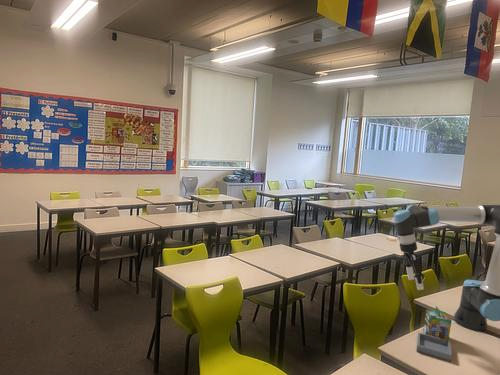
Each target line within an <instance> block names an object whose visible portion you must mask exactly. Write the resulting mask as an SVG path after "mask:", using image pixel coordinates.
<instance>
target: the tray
mask: <svg viewBox="0 0 500 375" xmlns="http://www.w3.org/2000/svg"><path fill="white" fill-rule="evenodd" d="M416 353H420V354H422V355H427V356H430V357H432V358H433V357H434V358H436V359H440V360H442V361H447V362H449V363H451V362H452V358H453V357H452V356H453V355H452V346H451V341H450V340H449V341H448V340H444V339H441V338H437V337H434V336H430V335H426V334H424V332H423V333H422V332H417V337H416Z"/></svg>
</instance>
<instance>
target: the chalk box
mask: <svg viewBox="0 0 500 375" xmlns="http://www.w3.org/2000/svg"><path fill="white" fill-rule="evenodd" d="M423 322H424V323H423V329H422V332H423V334H426V335H430V336H434V337H437V338H441V339H444V340H448V341H450V333H451V327H452V318H450V316H449V315H448V314H447V312H444V311H440V309H439V307H438V306H437V305H436V306H435V310H434V309H432V310H431V309H425V316H424V321H423Z"/></svg>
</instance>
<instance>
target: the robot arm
mask: <svg viewBox="0 0 500 375" xmlns="http://www.w3.org/2000/svg"><path fill="white" fill-rule="evenodd" d="M393 218H394V223H395V228H396V232H397V237H396V238H397V240H398V242H399V249H400V251H401V252H402V253H403V264H404V265H405V268H406V273H407V277H408V281H412V280H415V284H416V285H415V286H416V288H417V290H418V291H422V290H425V287H424V282H423V278H422V277H424V275H423V271H422V269H421V265H420V263H419V260H418V255H417V254H416V253H415V251H417V250H418V245H417V242H416V240H417V239H416V234H415V231H414V230H415V229H419V228H420V229H421V228H426V227H431V226H435V225H438V224H439V223H440V222H453V223H454V222H461V223H462V222H463V223H477V224H478V225H487V226H491V227H494V230H493V234H494V235H495V237H496V238H495V242H494V246H493V251H492V254H491V256H490V261H489V266H488V269H487V273H486V277H485V281H480V280H476V279H465V280H464V282H463V285H462V290H461V297H460V302H459V306H458V308H457V309H456V311H455V312H454V315H453V321H454V323H456V324H458V325H460V326H461V327H464V328H466V329H469V330H473V331H477V332H478V331H480V332H481V331H482V332H483V331H486V330H487V329H488V320H489V321H490V322H491V321H492V322H499V321H500V204H479V205H477V206H433V205H432V206H429V205H428V206H427V205H426V206H425V205H420V206H419V205H416V204H409V205H408V206H407V207H406V209H400V210H397V211H395V212H394V213H393Z"/></svg>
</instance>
